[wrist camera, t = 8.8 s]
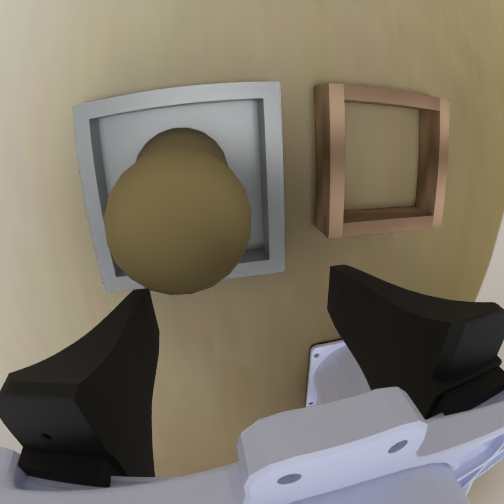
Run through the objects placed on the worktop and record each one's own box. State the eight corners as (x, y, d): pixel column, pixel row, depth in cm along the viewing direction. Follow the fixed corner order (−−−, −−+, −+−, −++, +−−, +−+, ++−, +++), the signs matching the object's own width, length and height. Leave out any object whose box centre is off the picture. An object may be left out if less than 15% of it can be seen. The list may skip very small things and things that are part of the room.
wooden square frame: (422, 217, 24) (440, 226, 22) (315, 226, 23) (328, 239, 21) (428, 99, 20) (449, 99, 18) (314, 86, 19) (328, 83, 17)
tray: (276, 256, 23) (285, 271, 21) (113, 274, 22) (105, 292, 20) (270, 85, 19) (279, 81, 16) (85, 107, 17) (72, 106, 15)
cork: (118, 198, 19) (61, 283, 9) (159, 111, 17) (127, 104, 8) (201, 235, 21) (220, 343, 11) (245, 153, 20) (309, 196, 10)
